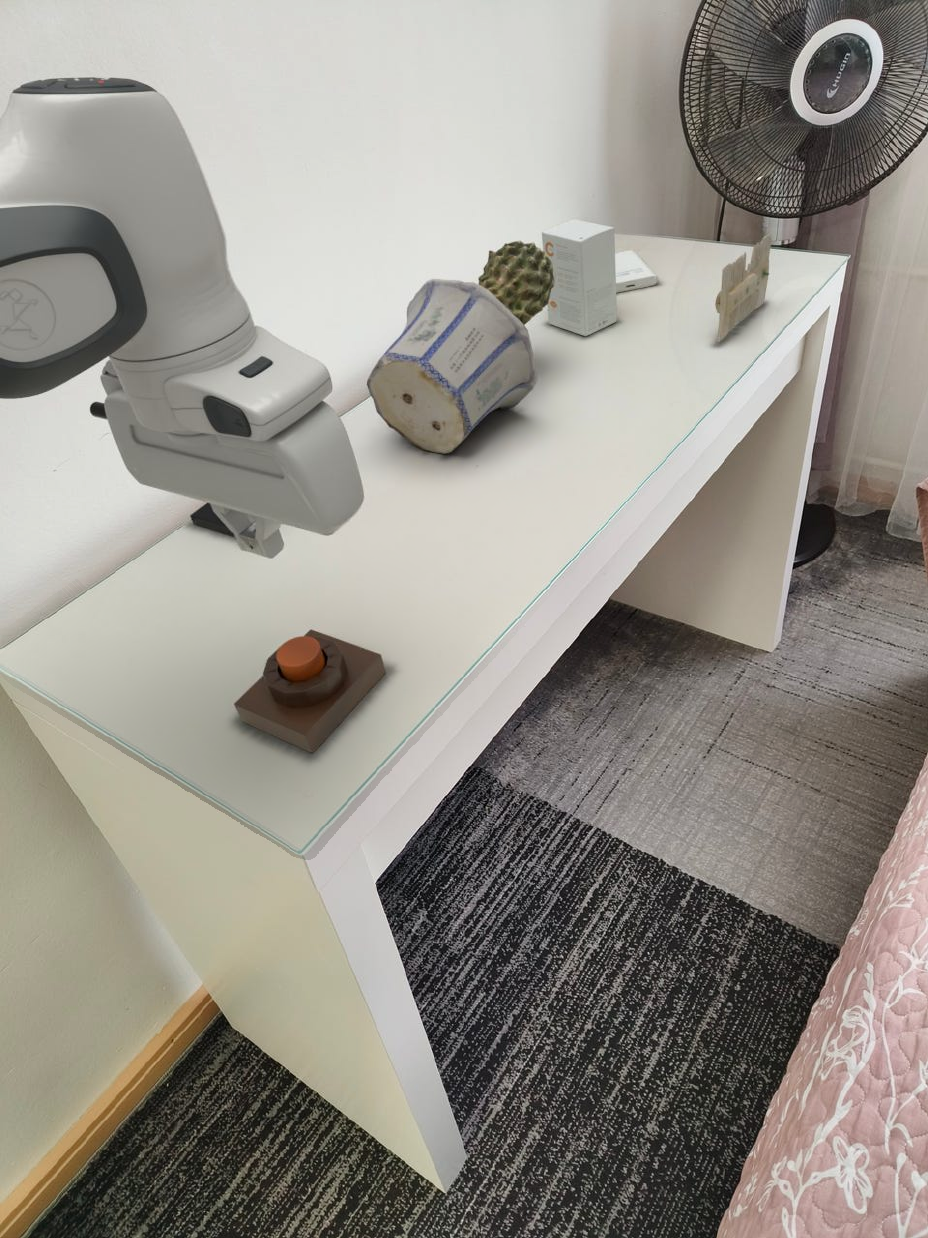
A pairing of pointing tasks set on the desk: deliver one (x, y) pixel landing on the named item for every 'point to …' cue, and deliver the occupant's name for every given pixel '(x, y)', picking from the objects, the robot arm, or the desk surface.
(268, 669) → the button block
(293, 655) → the button
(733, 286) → the wooden plank panel
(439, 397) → the potted plant
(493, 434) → the desk surface
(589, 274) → the small box
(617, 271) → the hard drive
